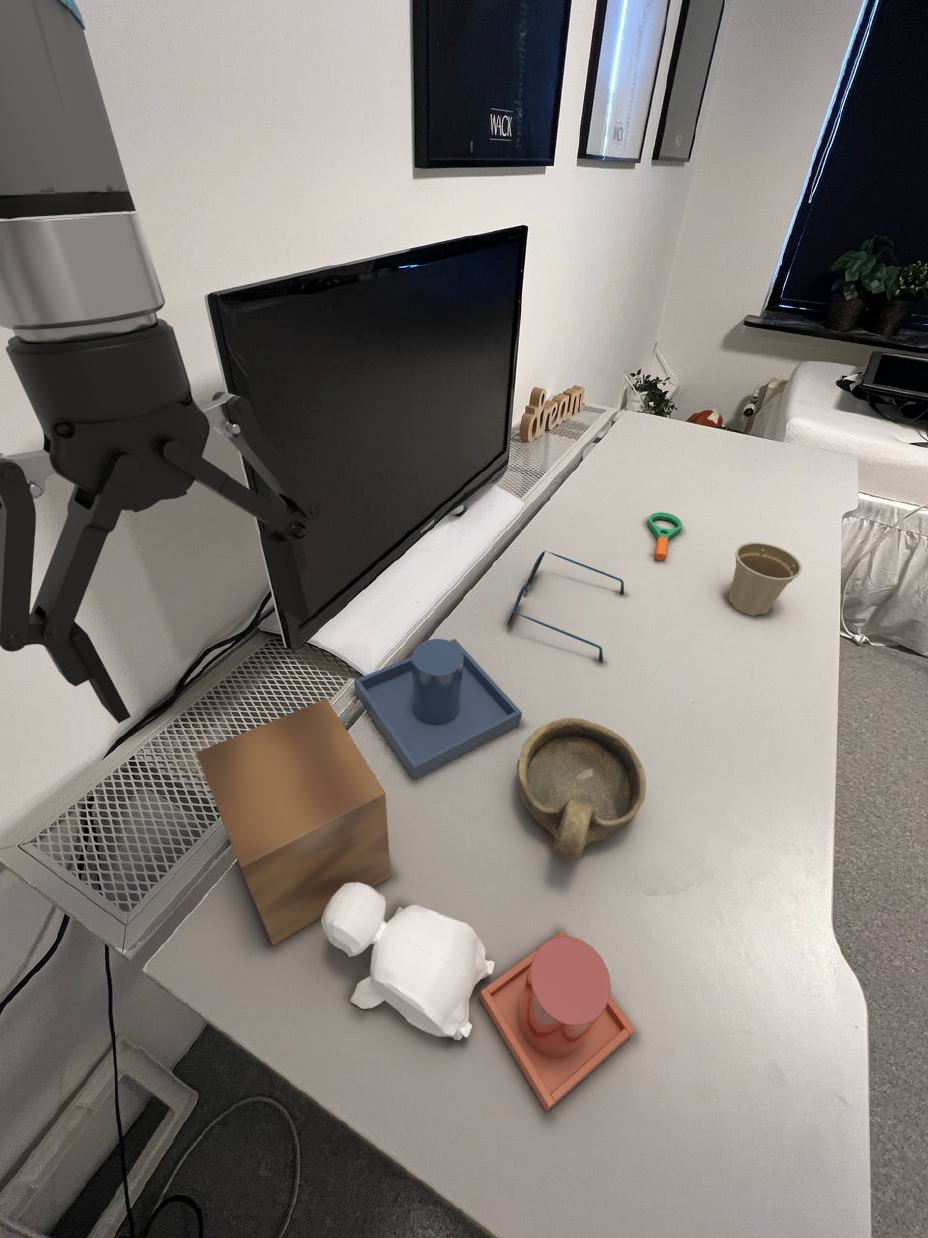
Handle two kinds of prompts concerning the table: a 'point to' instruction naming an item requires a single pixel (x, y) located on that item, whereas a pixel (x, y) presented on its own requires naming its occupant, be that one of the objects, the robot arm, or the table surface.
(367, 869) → the brown wooden block
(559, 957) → the red cylinder
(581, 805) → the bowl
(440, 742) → the blue tray
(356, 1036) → the table surface
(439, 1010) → the white turtle figurine
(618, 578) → the sunglasses
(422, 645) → the slate blue cylinder
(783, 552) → the flower pot
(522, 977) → the red tray
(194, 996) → the table surface
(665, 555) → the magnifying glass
